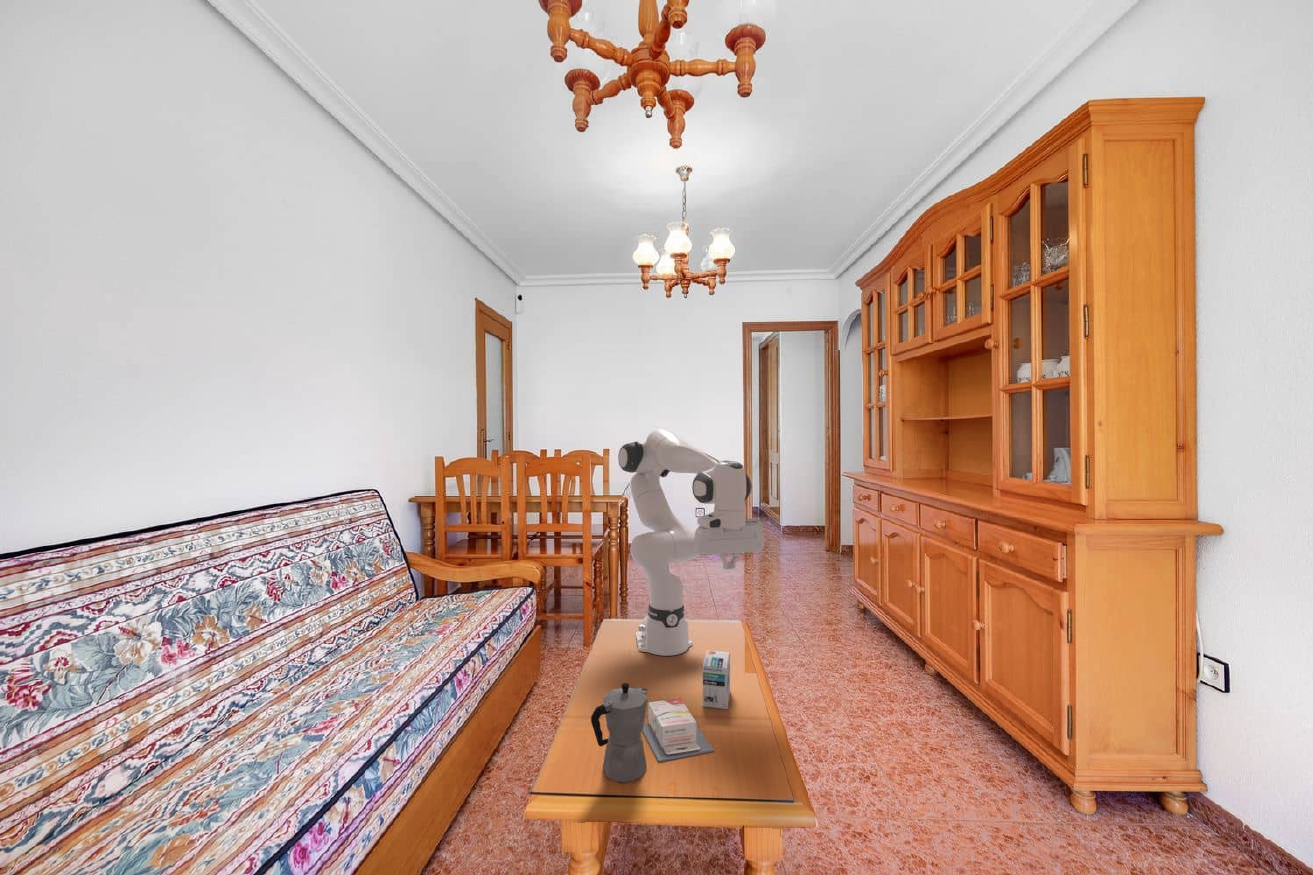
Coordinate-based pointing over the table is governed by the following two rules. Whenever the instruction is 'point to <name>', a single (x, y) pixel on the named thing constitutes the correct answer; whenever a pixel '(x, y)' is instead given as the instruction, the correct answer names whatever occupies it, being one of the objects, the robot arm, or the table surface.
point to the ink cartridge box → (673, 725)
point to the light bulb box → (716, 679)
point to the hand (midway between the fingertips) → (729, 568)
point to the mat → (662, 756)
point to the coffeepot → (622, 733)
